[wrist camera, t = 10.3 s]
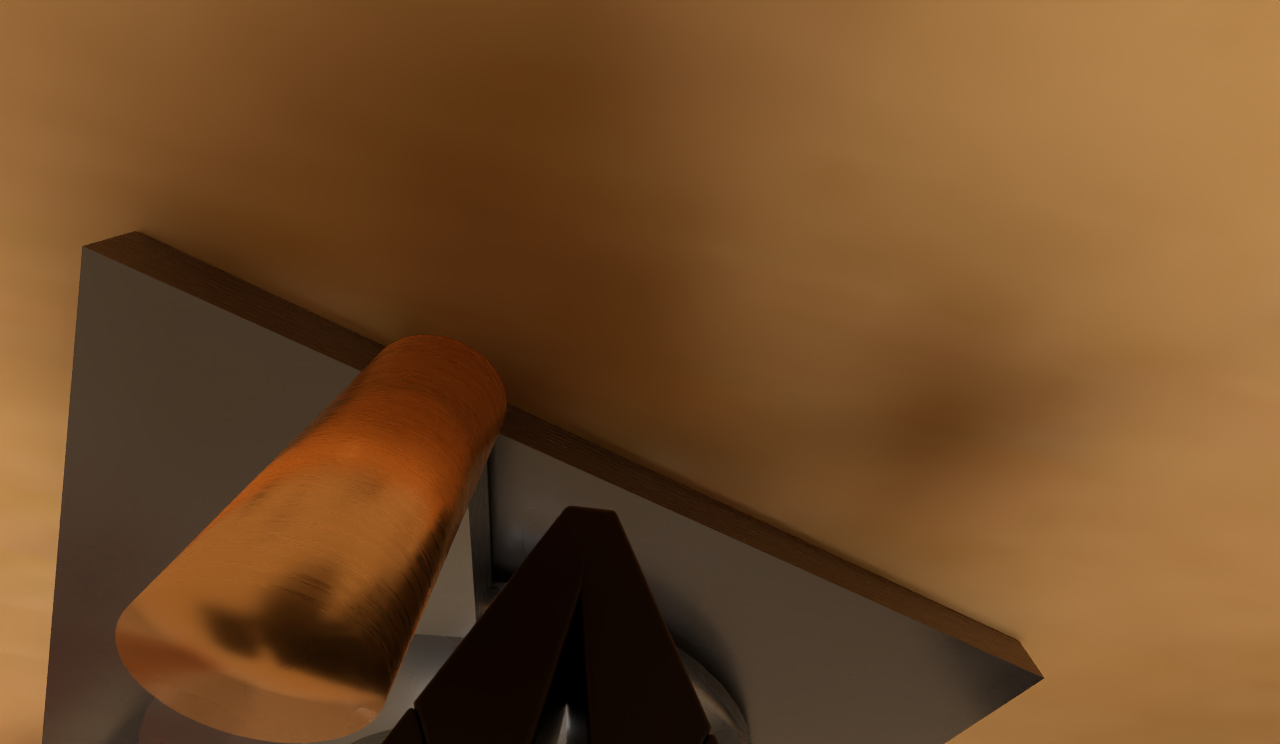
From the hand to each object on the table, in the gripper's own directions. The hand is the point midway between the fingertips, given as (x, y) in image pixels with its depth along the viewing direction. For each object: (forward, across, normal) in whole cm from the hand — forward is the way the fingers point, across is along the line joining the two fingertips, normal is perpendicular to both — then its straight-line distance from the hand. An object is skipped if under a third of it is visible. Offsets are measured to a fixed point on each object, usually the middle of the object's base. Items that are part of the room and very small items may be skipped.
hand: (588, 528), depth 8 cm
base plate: (+3, +2, +12) cm, 13 cm away
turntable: (+2, +3, +9) cm, 10 cm away
